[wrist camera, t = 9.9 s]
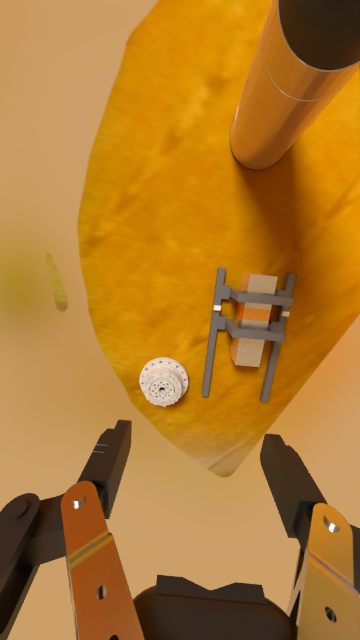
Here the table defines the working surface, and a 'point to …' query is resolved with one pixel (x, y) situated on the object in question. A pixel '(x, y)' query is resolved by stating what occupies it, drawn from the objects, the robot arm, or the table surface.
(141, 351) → the table surface
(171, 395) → the mechanical component
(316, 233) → the table surface
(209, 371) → the collar frame
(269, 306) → the bar
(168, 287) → the table surface
